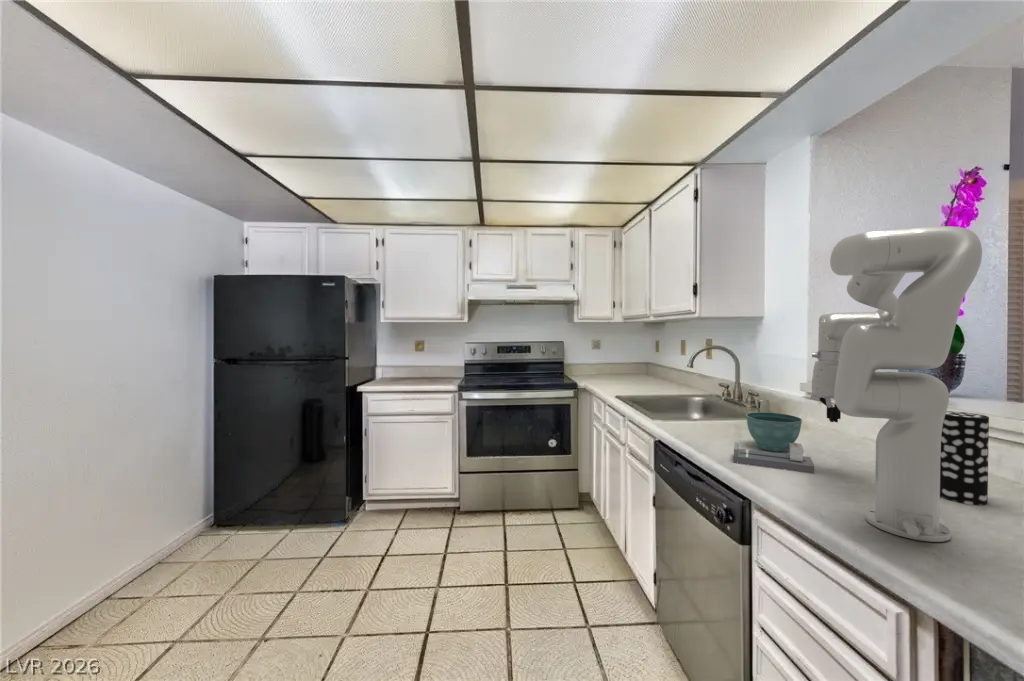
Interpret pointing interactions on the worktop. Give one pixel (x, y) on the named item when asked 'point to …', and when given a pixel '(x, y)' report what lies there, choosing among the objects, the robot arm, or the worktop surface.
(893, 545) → the worktop surface
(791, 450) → the fader knob
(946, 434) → the white-spotted black cylinder
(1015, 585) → the worktop surface
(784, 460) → the fader console
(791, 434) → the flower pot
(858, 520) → the worktop surface
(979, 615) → the worktop surface
